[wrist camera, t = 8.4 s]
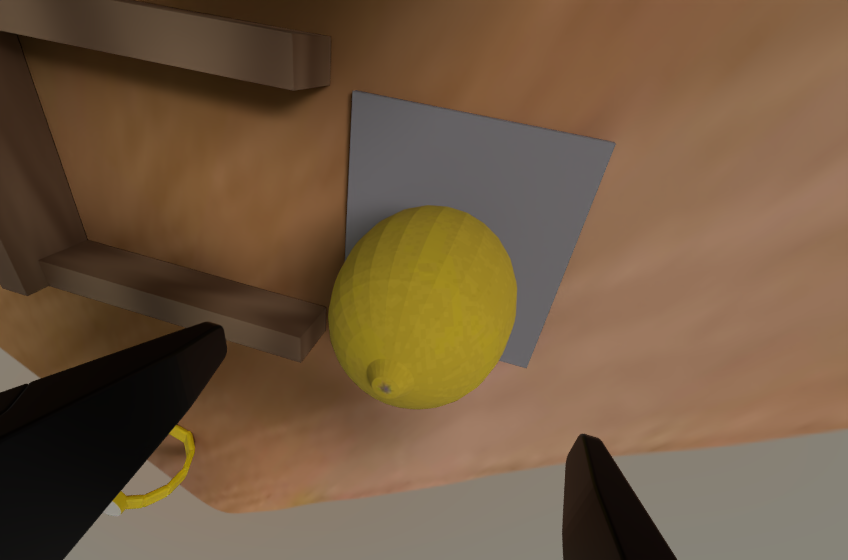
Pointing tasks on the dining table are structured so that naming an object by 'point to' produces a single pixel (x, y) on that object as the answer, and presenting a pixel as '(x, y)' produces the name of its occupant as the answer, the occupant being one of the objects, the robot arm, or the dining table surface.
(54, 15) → the shelf lane
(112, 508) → the watch
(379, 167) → the mat
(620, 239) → the dining table surface
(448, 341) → the lemon
